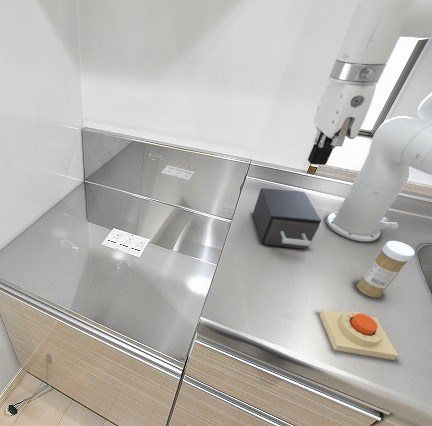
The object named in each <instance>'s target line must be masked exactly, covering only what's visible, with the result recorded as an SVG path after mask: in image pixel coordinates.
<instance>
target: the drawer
mask: <svg viewBox="0 0 432 426" xmlns="http://www.w3.org/2000/svg"><path fill="white" fill-rule="evenodd" d="M319 227H320V224H319V225H318V224H317V223H311V222H304V221H294V220H284V219H273V220H272V223H271V225H270V228H269V230H268V233H267V235H266V238H265V241H264V242H265V244H264V245H269V246H276V247H285V248H294V249H295V248H296V249H303V250H308V248H309V247H311V244H312V241H313V239H314V237H315V235H316V233H317V231H318V230H319Z"/></svg>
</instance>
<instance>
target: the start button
mask: <svg viewBox="0 0 432 426" xmlns="http://www.w3.org/2000/svg"><path fill="white" fill-rule="evenodd" d="M371 317H372V316H369V315H367V314H365V313H362V314H356V315H355V316H354V317H353V318H352V320H351V321H350V323H351V326H352V327H353V328H354V329H355V330H356V331H357V332H359V333H361V334H363V335H372V334H373V333H374V332H375V330H376V329H377V327H378V326H377V323H376V322H375V321H374V320H373V319H372V318H371Z"/></svg>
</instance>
